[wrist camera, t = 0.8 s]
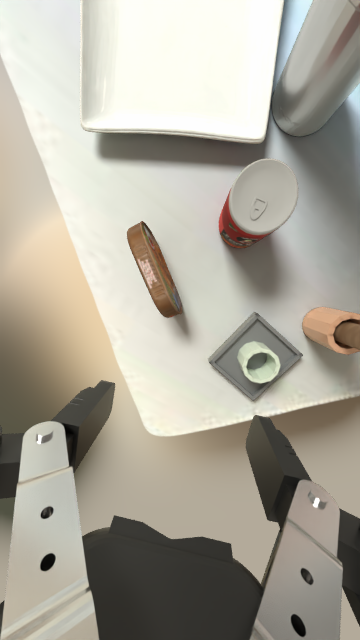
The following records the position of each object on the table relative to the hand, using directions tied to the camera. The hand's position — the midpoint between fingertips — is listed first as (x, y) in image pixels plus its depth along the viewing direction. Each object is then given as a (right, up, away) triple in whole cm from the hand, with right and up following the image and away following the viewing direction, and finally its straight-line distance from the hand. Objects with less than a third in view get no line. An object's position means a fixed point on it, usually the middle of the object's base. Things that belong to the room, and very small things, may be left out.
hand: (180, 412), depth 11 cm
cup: (+25, +5, +25) cm, 35 cm away
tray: (+13, -1, +26) cm, 30 cm away
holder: (+13, -1, +25) cm, 29 cm away
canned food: (+10, +21, +23) cm, 33 cm away
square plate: (0, +46, +19) cm, 50 cm away
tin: (-3, +14, +25) cm, 29 cm away
